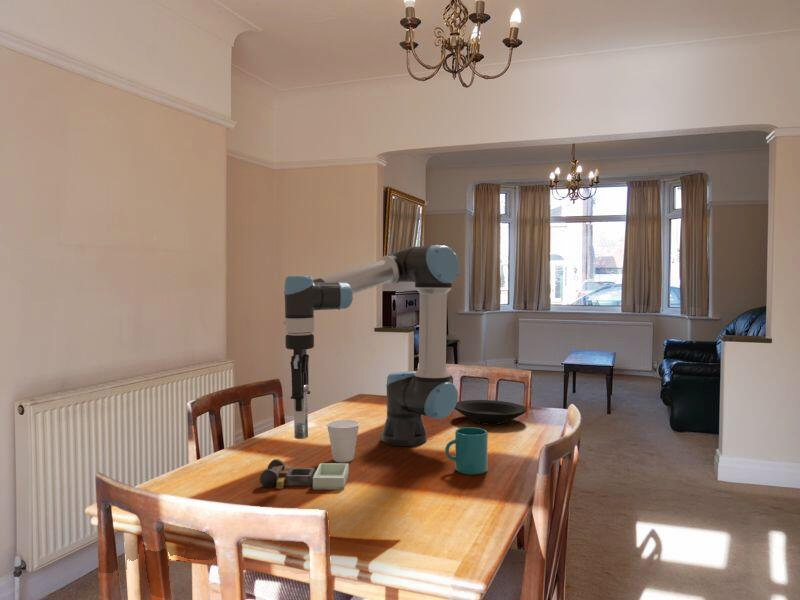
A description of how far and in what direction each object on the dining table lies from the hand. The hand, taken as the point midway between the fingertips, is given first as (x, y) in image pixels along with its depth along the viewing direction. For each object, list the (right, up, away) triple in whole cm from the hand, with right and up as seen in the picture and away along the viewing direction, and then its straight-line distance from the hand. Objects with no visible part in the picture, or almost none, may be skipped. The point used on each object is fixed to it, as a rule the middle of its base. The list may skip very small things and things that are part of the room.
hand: (301, 420), depth 160 cm
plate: (+60, -14, +67) cm, 91 cm away
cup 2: (+45, -16, +10) cm, 49 cm away
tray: (+8, -16, 0) cm, 18 cm away
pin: (0, -4, 0) cm, 4 cm away
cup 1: (+9, -16, +19) cm, 27 cm away
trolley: (-3, -16, 0) cm, 17 cm away
